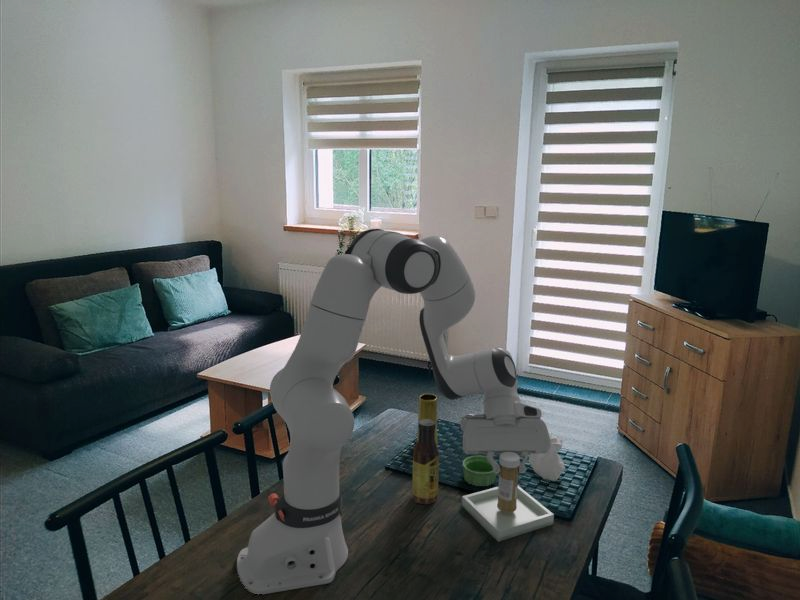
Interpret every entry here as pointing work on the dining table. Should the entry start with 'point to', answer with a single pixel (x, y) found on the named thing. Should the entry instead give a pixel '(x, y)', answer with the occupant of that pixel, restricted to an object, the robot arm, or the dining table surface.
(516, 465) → the sprinkles bottle
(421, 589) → the dining table surface
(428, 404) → the vase
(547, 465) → the duck figurine
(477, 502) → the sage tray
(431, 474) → the sauce bottle
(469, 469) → the ramekin
